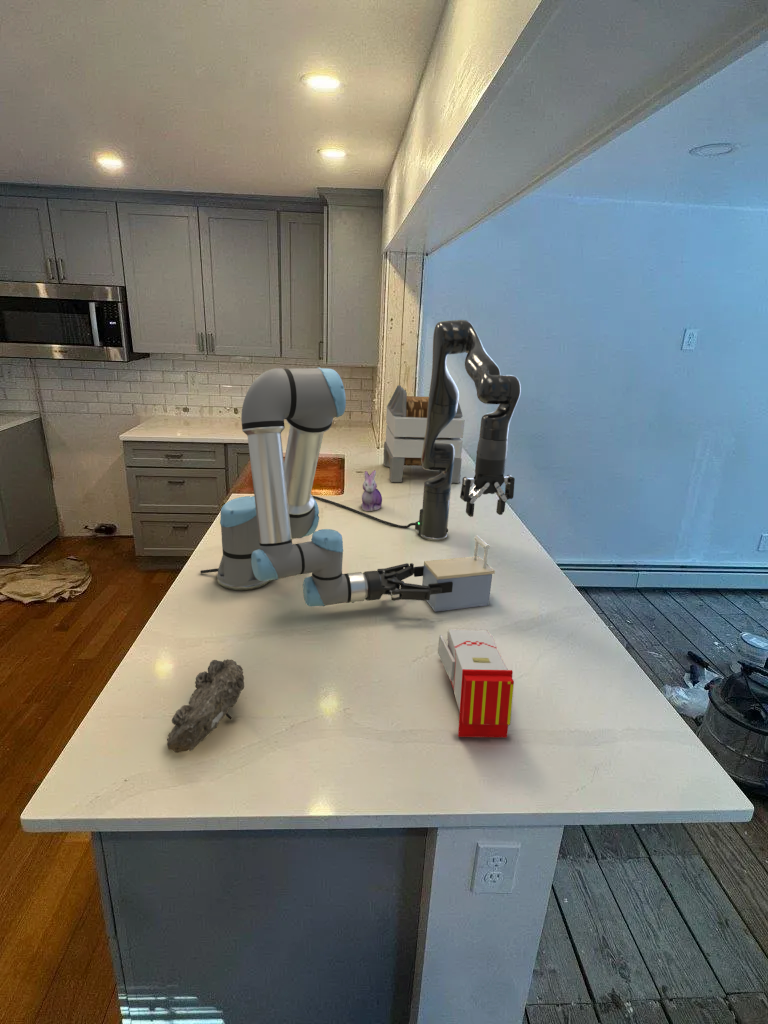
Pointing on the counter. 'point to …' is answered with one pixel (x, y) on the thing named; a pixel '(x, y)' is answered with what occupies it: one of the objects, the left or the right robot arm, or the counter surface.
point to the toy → (478, 682)
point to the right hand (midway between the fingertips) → (484, 514)
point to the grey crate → (415, 434)
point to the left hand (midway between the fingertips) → (443, 578)
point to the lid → (462, 564)
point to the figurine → (371, 493)
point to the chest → (459, 591)
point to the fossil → (206, 705)
